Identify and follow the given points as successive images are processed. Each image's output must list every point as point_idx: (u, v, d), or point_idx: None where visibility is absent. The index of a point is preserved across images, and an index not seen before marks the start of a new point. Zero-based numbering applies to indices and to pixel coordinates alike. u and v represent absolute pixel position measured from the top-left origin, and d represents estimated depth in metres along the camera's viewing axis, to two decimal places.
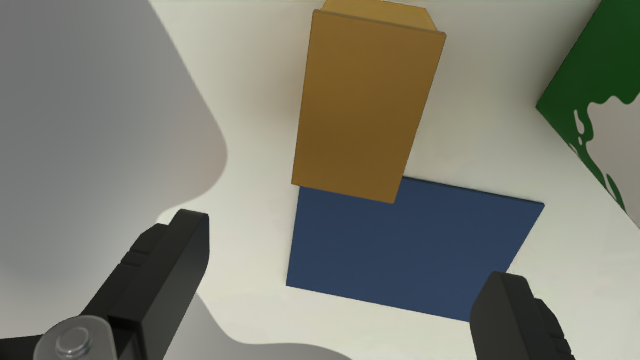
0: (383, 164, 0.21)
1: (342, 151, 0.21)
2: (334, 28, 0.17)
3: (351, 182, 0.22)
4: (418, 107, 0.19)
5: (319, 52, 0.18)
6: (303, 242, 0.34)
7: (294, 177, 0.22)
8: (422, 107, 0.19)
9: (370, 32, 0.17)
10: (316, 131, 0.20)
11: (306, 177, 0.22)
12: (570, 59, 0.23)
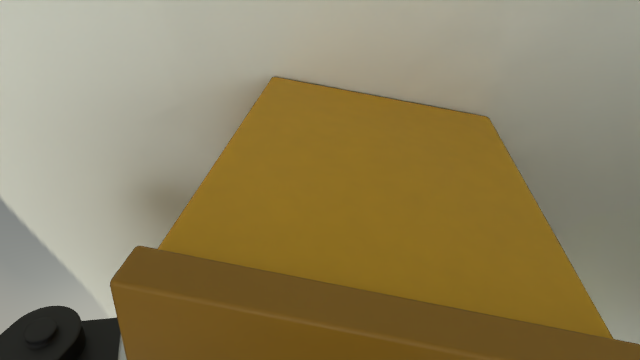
0: None
1: None
2: (206, 334, 0.04)
3: None
4: None
5: None
6: None
7: None
8: None
9: (349, 357, 0.04)
10: None
11: None
12: None
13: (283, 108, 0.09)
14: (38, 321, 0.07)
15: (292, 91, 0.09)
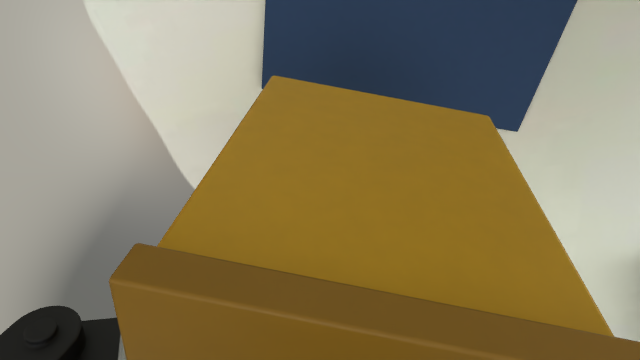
0: None
1: None
2: (205, 332, 0.04)
3: None
4: None
5: None
6: (281, 2, 0.25)
7: None
8: None
9: (349, 355, 0.04)
10: None
11: None
12: None
13: (283, 106, 0.09)
14: (38, 321, 0.07)
15: (292, 89, 0.09)
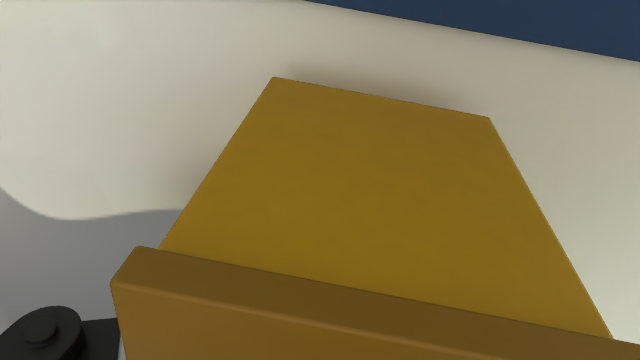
0: None
1: None
2: (206, 334, 0.04)
3: None
4: None
5: None
6: None
7: None
8: None
9: (349, 357, 0.04)
10: None
11: None
12: None
13: (283, 108, 0.09)
14: (38, 321, 0.07)
15: (292, 91, 0.09)
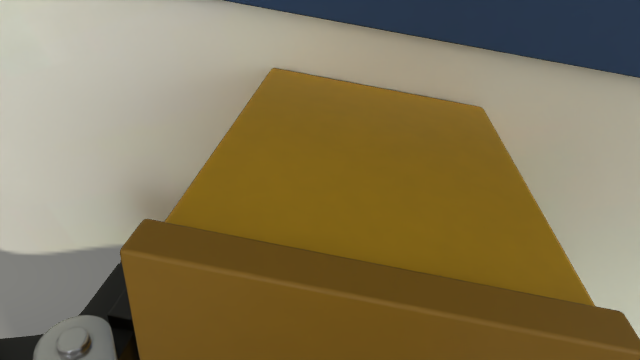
0: None
1: None
2: (210, 301, 0.05)
3: None
4: None
5: (174, 349, 0.05)
6: None
7: None
8: None
9: (346, 322, 0.05)
10: None
11: None
12: None
13: (283, 97, 0.09)
14: None
15: (291, 81, 0.10)
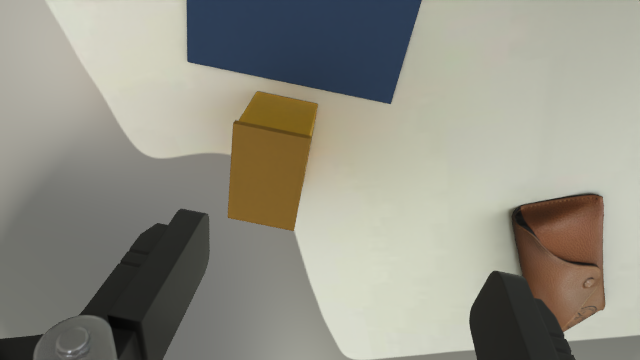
0: (284, 207, 0.33)
1: (258, 199, 0.33)
2: (246, 132, 0.30)
3: (265, 217, 0.34)
4: (300, 176, 0.31)
5: (238, 144, 0.30)
6: None
7: (229, 213, 0.34)
8: (302, 176, 0.31)
9: (267, 135, 0.30)
10: (240, 187, 0.33)
11: (237, 214, 0.34)
12: None
13: (259, 100, 0.34)
14: None
15: (262, 95, 0.35)
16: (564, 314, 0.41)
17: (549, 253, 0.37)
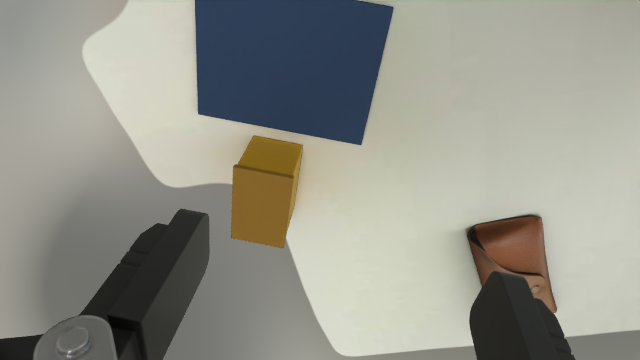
0: (275, 229, 0.42)
1: (254, 223, 0.42)
2: (243, 173, 0.38)
3: (261, 237, 0.43)
4: (287, 206, 0.40)
5: (237, 182, 0.39)
6: (206, 63, 0.40)
7: (232, 235, 0.43)
8: (288, 206, 0.40)
9: (259, 176, 0.38)
10: (240, 214, 0.41)
11: (238, 235, 0.43)
12: None
13: (255, 144, 0.42)
14: None
15: (257, 139, 0.43)
16: None
17: (496, 265, 0.45)
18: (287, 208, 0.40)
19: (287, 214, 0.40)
